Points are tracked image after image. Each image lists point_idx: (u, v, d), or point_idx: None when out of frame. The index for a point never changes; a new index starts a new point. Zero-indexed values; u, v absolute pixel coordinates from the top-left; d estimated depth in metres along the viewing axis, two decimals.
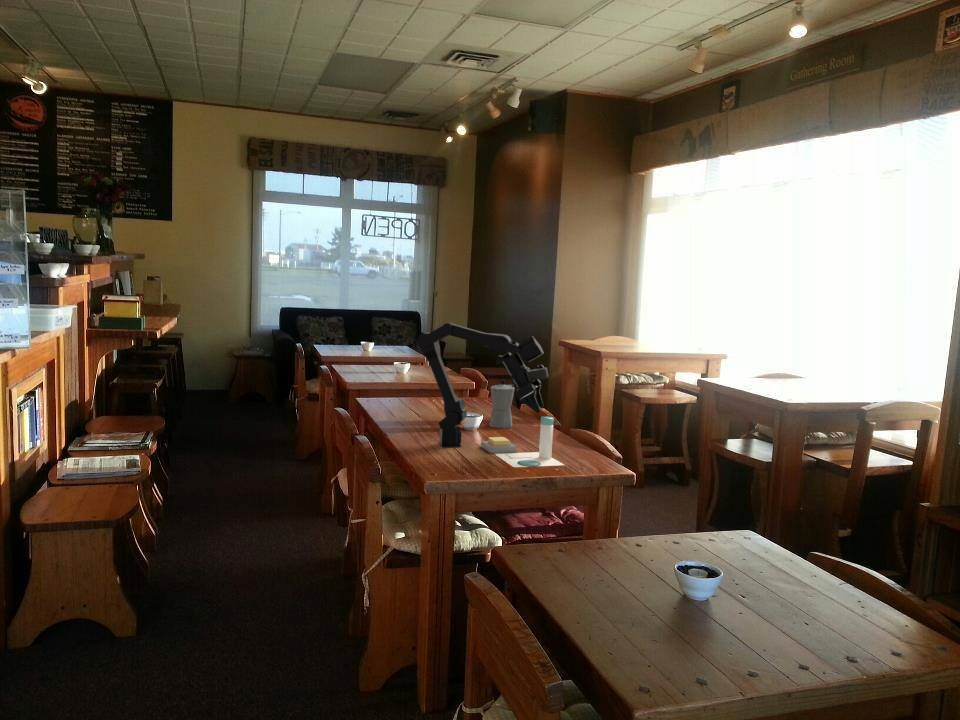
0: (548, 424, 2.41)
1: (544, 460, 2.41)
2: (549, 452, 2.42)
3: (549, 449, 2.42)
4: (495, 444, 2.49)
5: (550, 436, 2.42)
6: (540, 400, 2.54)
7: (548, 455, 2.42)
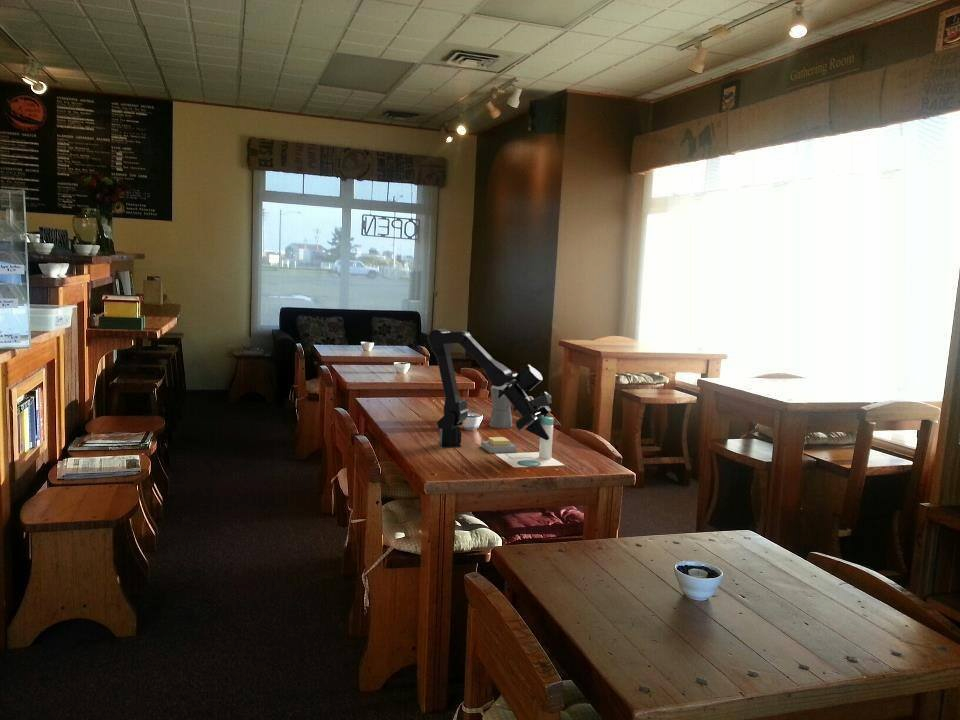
0: (548, 424, 2.41)
1: (544, 460, 2.41)
2: (549, 452, 2.42)
3: (549, 449, 2.42)
4: (495, 444, 2.49)
5: (550, 436, 2.42)
6: None
7: (548, 455, 2.42)
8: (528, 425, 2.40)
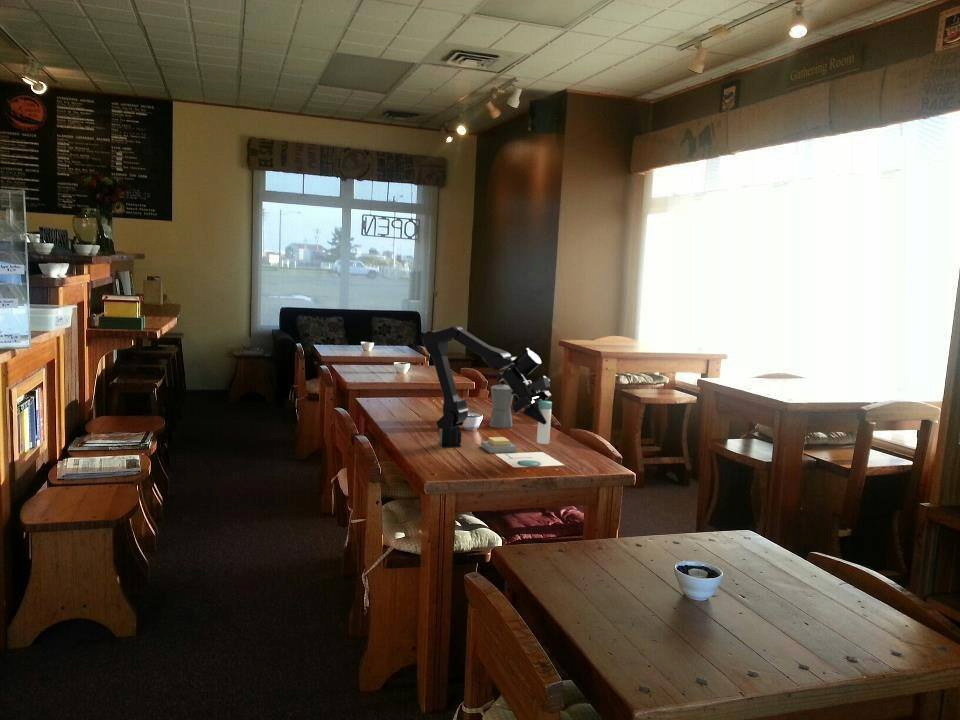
0: (546, 408, 2.38)
1: (544, 460, 2.41)
2: (547, 437, 2.40)
3: (547, 433, 2.39)
4: (495, 444, 2.49)
5: (548, 420, 2.39)
6: None
7: (545, 440, 2.39)
8: (525, 409, 2.37)
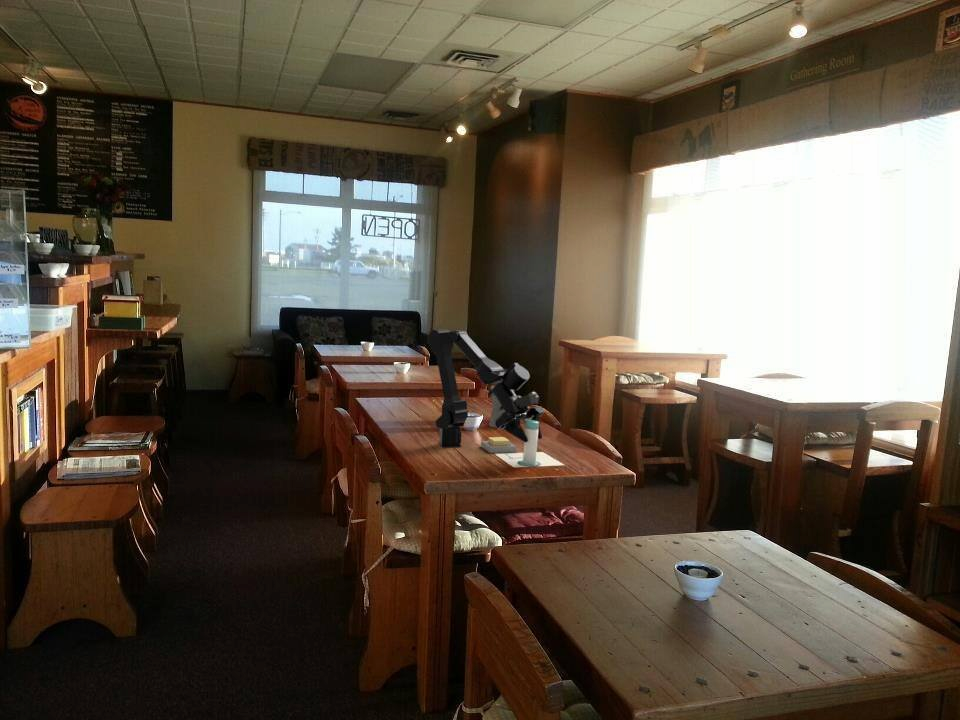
0: (531, 428, 2.32)
1: (544, 460, 2.41)
2: (532, 457, 2.34)
3: (532, 454, 2.34)
4: (495, 444, 2.49)
5: (533, 441, 2.33)
6: None
7: (530, 460, 2.34)
8: (506, 425, 2.32)
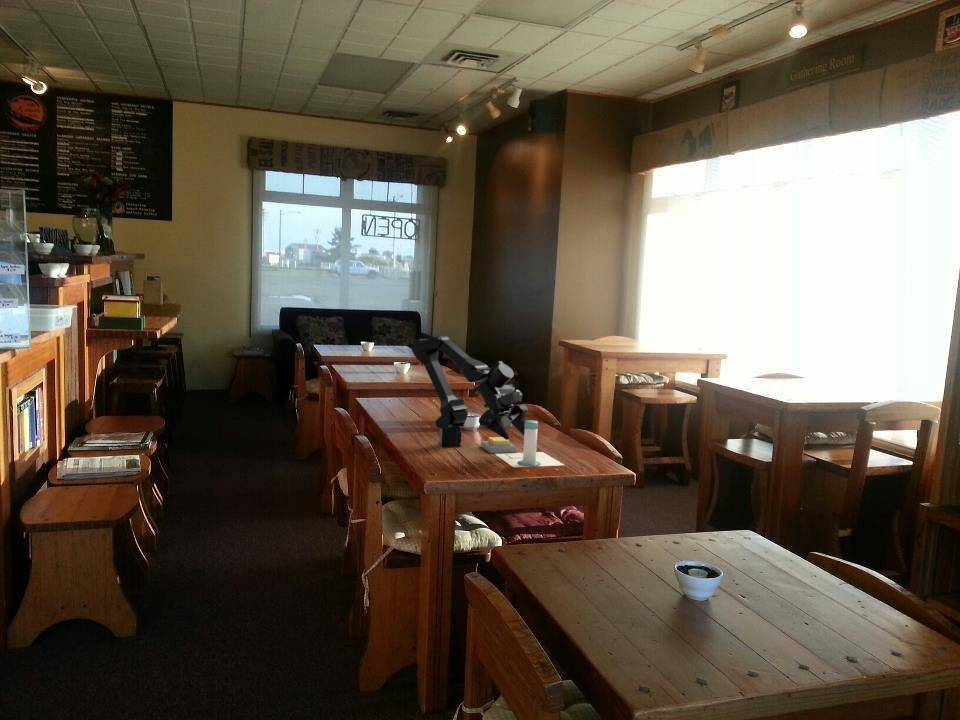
0: (530, 428, 2.33)
1: (544, 460, 2.41)
2: (532, 457, 2.34)
3: (531, 454, 2.34)
4: (495, 444, 2.49)
5: (533, 441, 2.33)
6: (523, 427, 2.42)
7: (530, 460, 2.34)
8: (487, 423, 2.35)
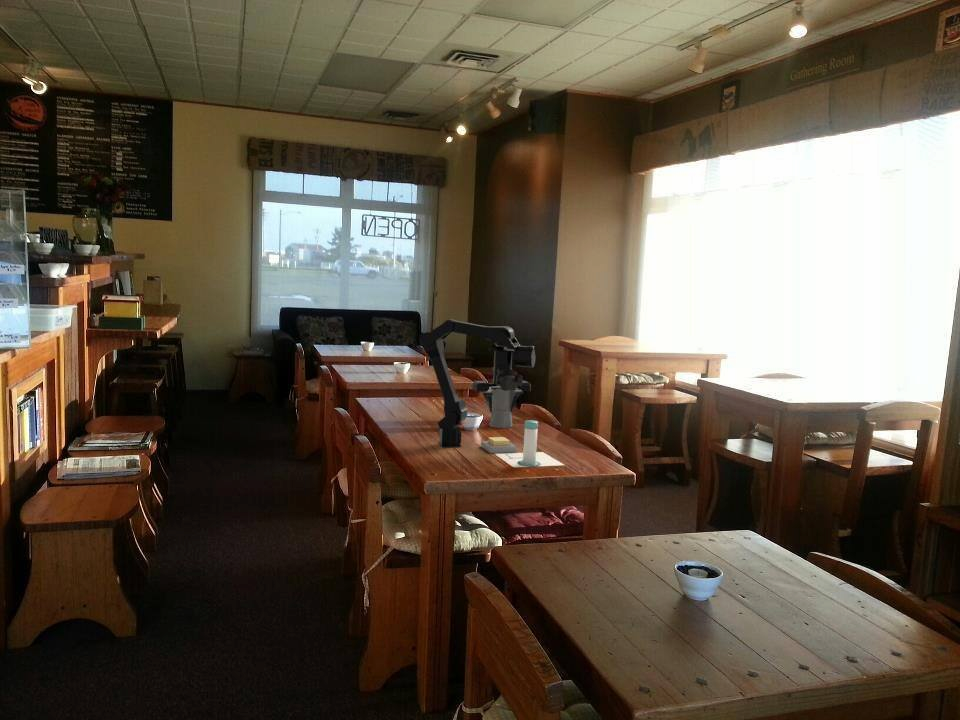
0: (530, 428, 2.33)
1: (544, 460, 2.41)
2: (532, 457, 2.34)
3: (531, 454, 2.34)
4: (495, 444, 2.49)
5: (533, 441, 2.33)
6: (511, 404, 2.52)
7: (530, 460, 2.34)
8: None
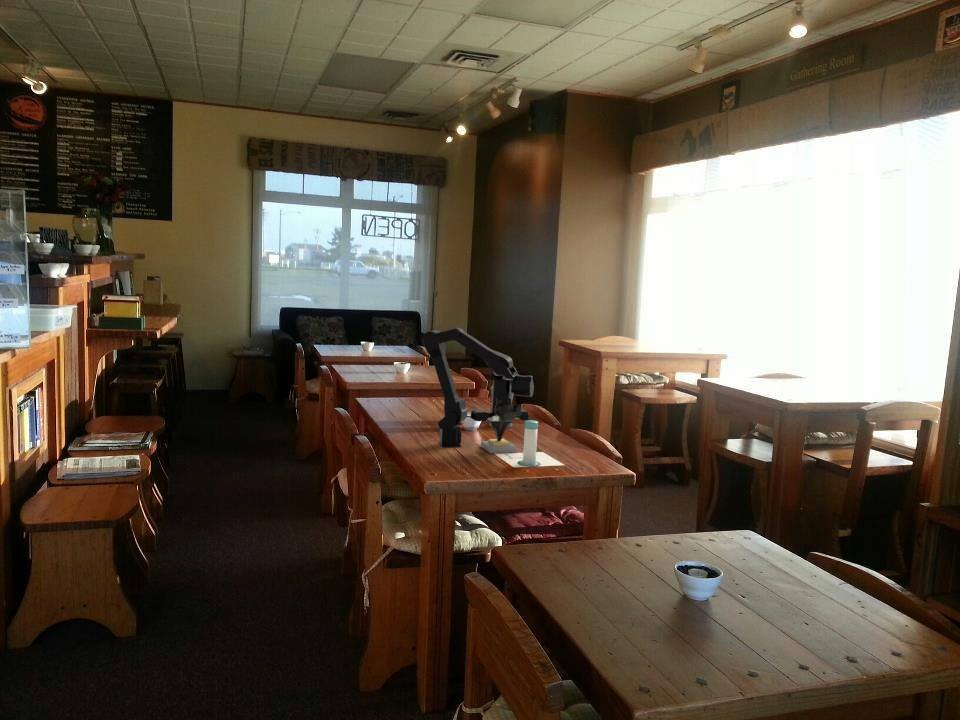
0: (530, 428, 2.33)
1: (544, 460, 2.41)
2: (532, 457, 2.34)
3: (531, 454, 2.34)
4: None
5: (533, 441, 2.33)
6: (500, 433, 2.52)
7: (530, 460, 2.34)
8: (488, 419, 2.51)
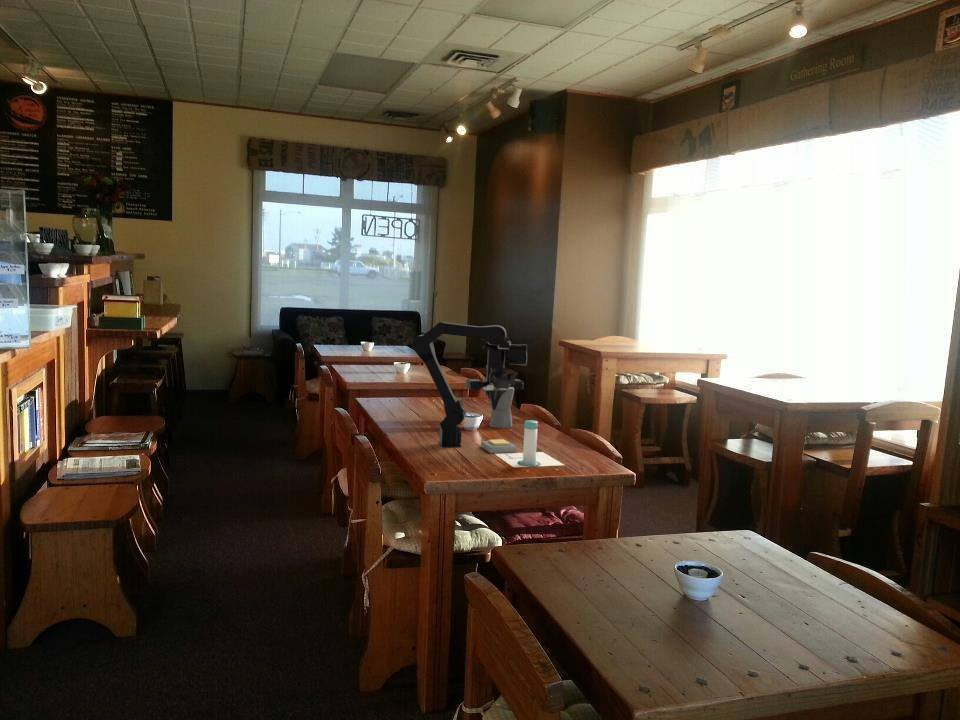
0: (530, 428, 2.33)
1: (544, 460, 2.41)
2: (531, 457, 2.34)
3: (531, 454, 2.34)
4: None
5: (532, 441, 2.33)
6: (495, 402, 2.54)
7: (530, 460, 2.34)
8: (483, 388, 2.54)
